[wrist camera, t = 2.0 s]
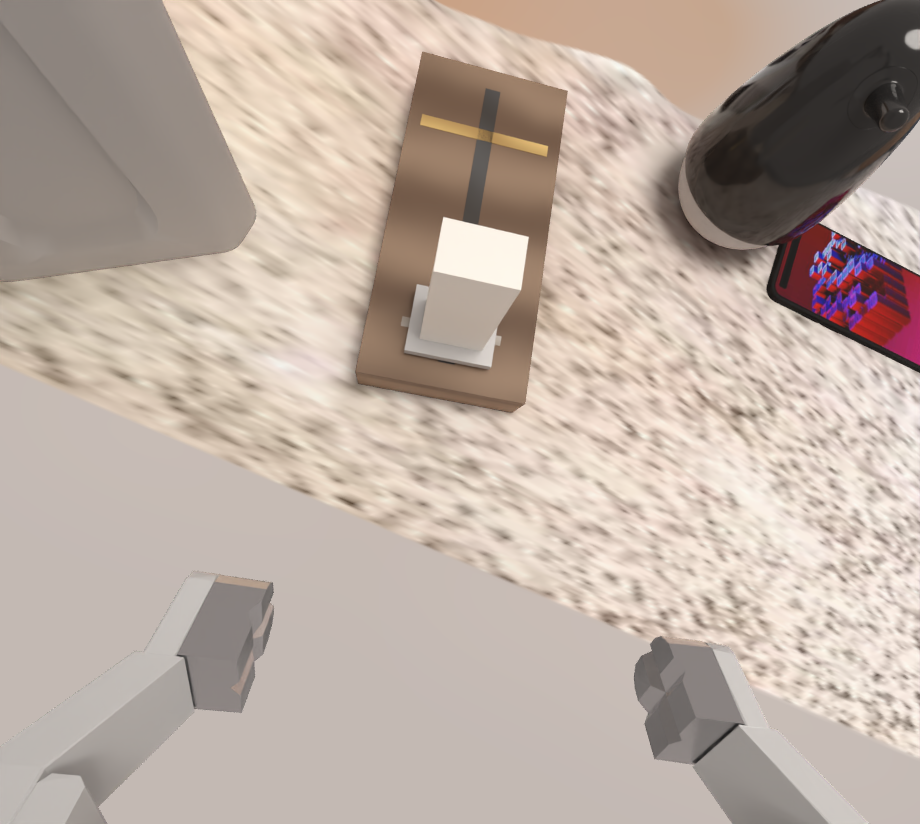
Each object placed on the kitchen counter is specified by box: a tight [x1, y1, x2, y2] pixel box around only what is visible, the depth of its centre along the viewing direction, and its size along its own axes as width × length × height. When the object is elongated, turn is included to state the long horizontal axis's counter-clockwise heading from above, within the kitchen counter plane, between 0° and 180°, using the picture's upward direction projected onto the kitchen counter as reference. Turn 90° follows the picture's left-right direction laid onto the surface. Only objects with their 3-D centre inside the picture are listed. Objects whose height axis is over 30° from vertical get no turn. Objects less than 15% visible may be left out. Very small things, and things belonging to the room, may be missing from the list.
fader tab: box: [404, 217, 529, 370], centre depth 24 cm, size 4×5×9 cm
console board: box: [355, 52, 568, 412], centre depth 32 cm, size 22×10×3 cm, turn 171°
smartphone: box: [767, 223, 920, 373], centre depth 37 cm, size 8×1×15 cm
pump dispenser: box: [678, 0, 920, 250], centre depth 29 cm, size 10×10×15 cm
